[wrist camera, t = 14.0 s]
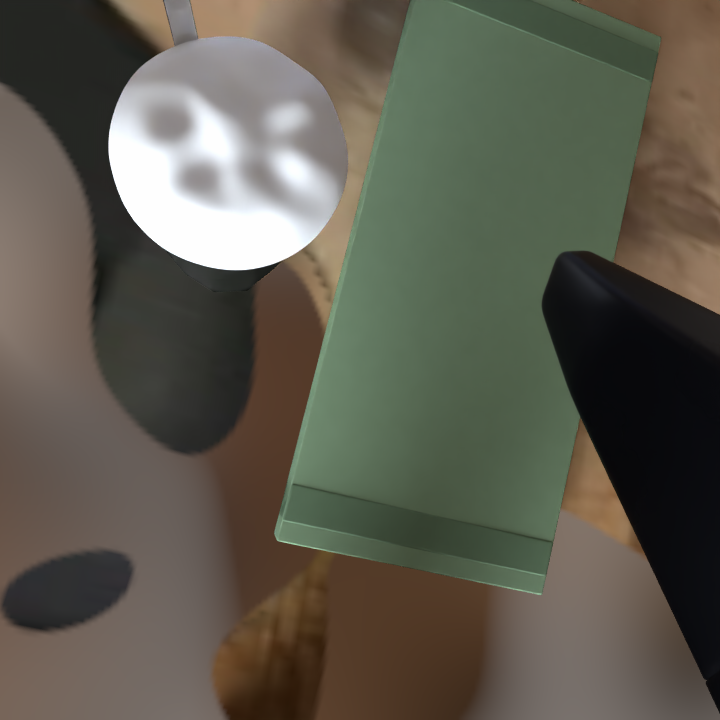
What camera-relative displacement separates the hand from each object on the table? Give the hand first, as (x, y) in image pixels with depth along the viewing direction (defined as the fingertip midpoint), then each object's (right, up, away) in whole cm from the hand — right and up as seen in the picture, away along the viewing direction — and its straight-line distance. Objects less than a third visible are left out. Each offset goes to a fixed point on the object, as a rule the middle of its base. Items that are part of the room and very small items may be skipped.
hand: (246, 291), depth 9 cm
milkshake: (-3, +3, +12) cm, 13 cm away
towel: (+5, +2, +14) cm, 15 cm away
